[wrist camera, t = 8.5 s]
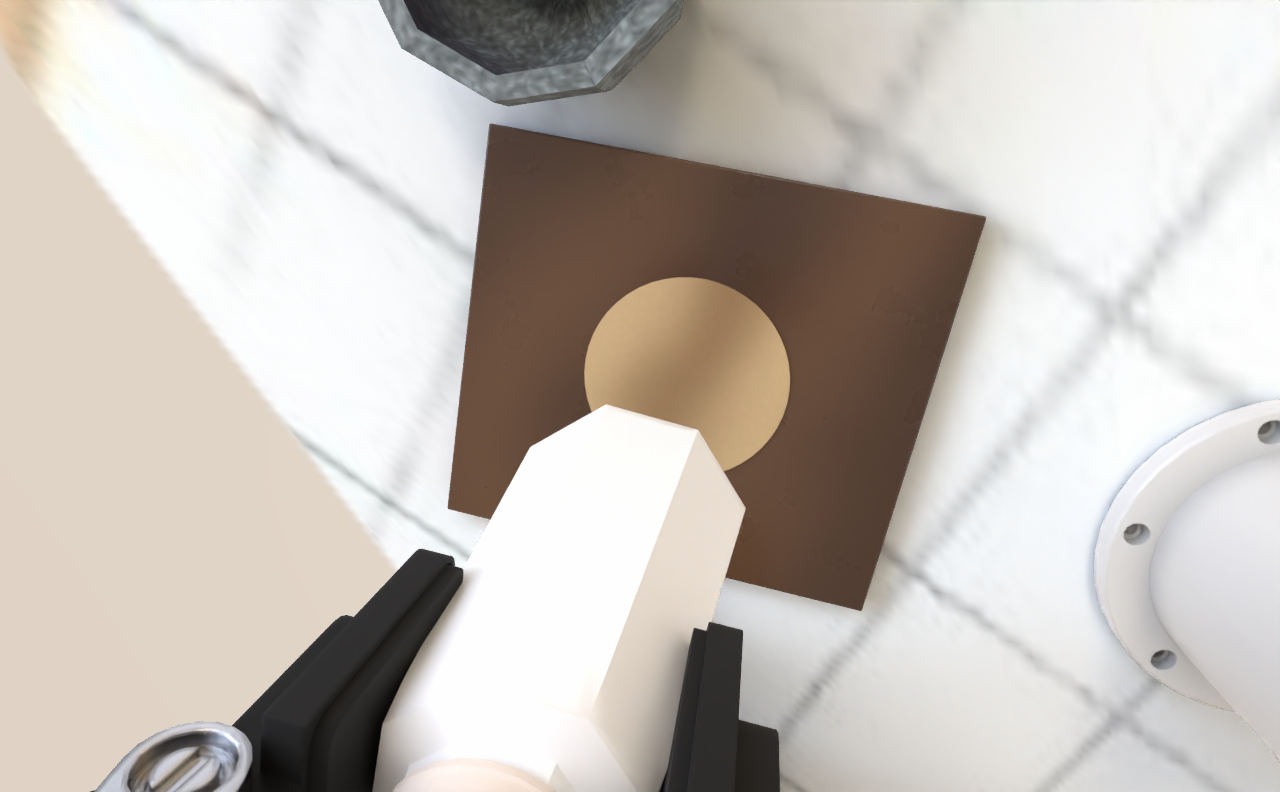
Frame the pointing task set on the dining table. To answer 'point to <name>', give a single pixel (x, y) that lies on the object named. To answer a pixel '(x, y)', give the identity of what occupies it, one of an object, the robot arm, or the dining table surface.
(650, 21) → the mortar and pestle
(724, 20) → the dining table surface
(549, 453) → the pepper shaker
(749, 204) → the board
